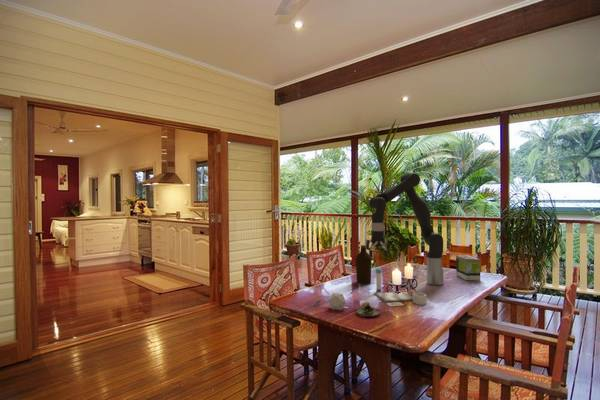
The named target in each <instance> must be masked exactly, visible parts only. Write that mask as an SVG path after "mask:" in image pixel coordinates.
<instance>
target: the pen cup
mask: <svg viewBox="0 0 600 400" xmlns="http://www.w3.org/2000/svg"><path fill="white" fill-rule="evenodd" d="M412 294H413V301H412V302H413V304H415V305H421V306H423V305H427V294H426V293H423V292H413V293H412Z"/></svg>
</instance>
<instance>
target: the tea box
mask: <svg viewBox="0 0 600 400" xmlns="http://www.w3.org/2000/svg"><path fill="white" fill-rule="evenodd" d="M455 257H456V258H455V262H456V263H455V268H456V270H455V275H456V276H457V277H459V278H461V279H462V280H465V281H467V280H480V281H481V259H480V258H478V257H475V256H472V255H455Z"/></svg>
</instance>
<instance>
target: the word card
mask: <svg viewBox="0 0 600 400" xmlns="http://www.w3.org/2000/svg"><path fill="white" fill-rule="evenodd" d="M385 304H386V305H387V306H389V307H399V306H400V307H402V306H403V307H404V306H405V304H403V302H388V303H385Z"/></svg>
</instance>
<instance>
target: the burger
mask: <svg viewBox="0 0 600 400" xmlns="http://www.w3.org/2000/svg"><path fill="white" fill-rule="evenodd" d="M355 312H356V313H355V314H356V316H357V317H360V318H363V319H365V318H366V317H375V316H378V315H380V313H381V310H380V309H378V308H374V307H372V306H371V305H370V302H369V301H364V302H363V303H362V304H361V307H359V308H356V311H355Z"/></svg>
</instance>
